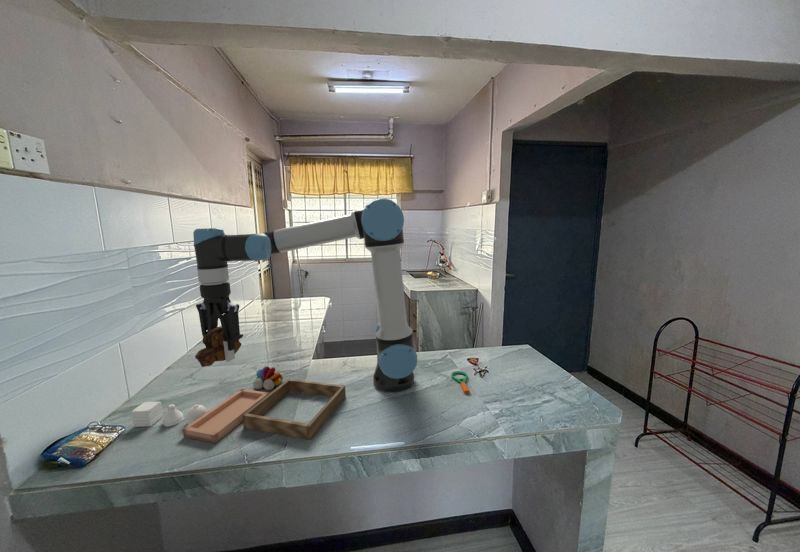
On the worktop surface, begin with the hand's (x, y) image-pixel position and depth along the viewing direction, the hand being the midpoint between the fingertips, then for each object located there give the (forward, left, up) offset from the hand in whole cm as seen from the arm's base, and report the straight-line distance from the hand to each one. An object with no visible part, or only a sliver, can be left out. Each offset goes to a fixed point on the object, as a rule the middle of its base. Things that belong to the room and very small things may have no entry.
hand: (224, 359), depth 93 cm
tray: (0, 0, -19) cm, 19 cm away
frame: (-19, -7, -19) cm, 28 cm away
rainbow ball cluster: (+1, -19, -19) cm, 27 cm away
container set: (+15, +6, -19) cm, 25 cm away
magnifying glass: (-67, -37, -19) cm, 79 cm away
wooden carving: (0, 0, 0) cm, 0 cm away
